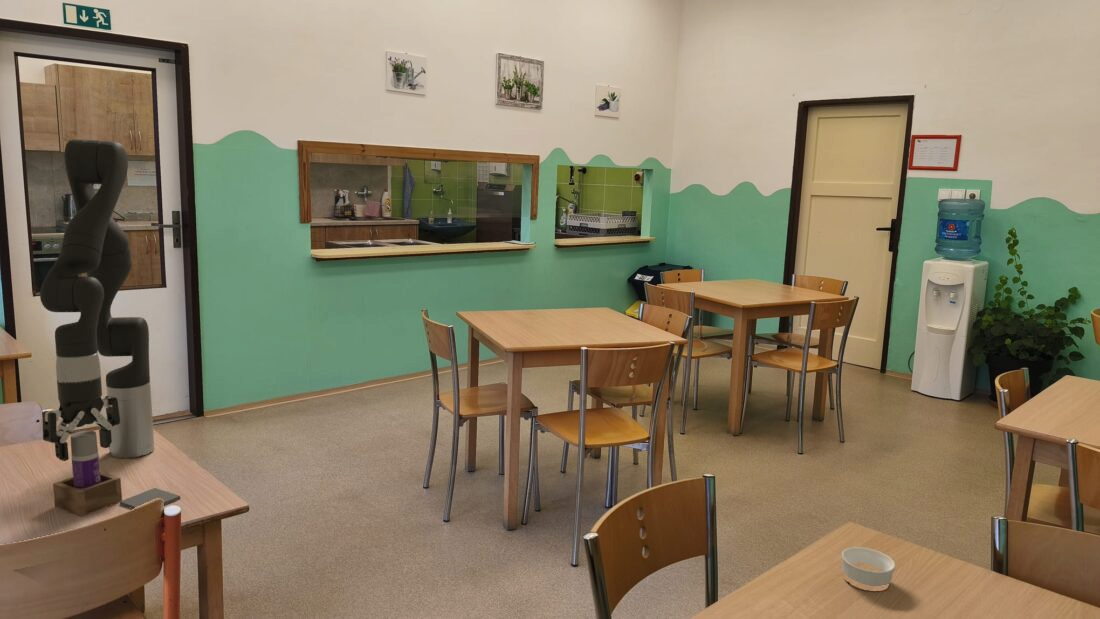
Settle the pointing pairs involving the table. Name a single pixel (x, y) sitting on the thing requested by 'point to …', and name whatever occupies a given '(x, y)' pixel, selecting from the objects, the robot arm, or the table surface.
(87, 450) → the container
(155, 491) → the mat
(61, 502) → the holder
